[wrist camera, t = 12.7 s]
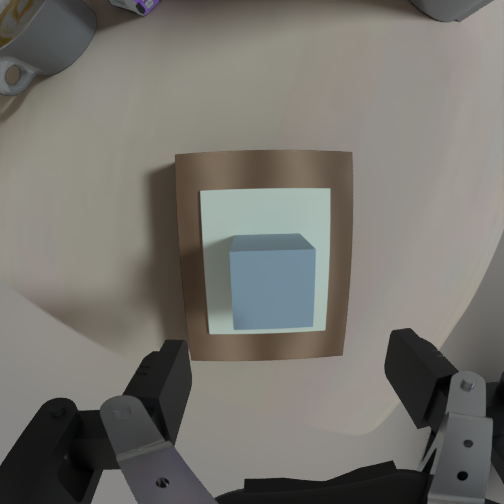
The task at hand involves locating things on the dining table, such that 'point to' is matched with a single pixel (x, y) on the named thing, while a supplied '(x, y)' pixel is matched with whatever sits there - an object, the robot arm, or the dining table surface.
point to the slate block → (272, 281)
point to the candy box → (136, 5)
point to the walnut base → (263, 222)
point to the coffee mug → (41, 38)
